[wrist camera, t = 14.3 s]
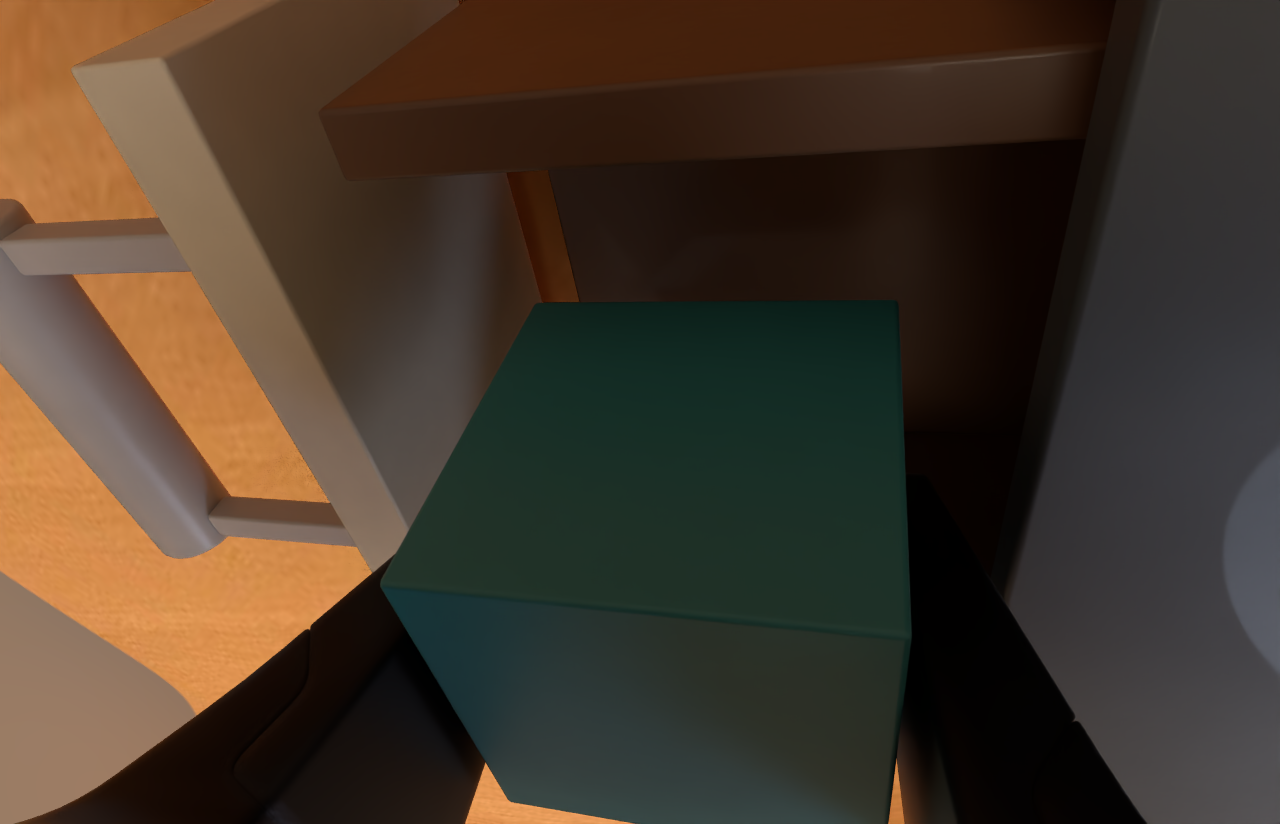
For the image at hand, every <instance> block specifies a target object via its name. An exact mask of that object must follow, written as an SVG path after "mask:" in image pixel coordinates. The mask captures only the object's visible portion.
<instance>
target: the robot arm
mask: <svg viewBox="0 0 1280 824" xmlns="http://www.w3.org/2000/svg"><path fill="white" fill-rule="evenodd" d="M906 498H907V523H908V549H909V574H910V599H911V624H912V639H911V647H910V655H909V663H908V670H907V678H906V686H905V694H904V702H903V710H902V718H901V726H900V734H899V742H898V750H897V765H898V773H899V781H900V789H901V798H902V806H903V814H904V822H905V824H1148V823H1147V822H1146V821H1145V819H1144V818H1143V817H1142V815H1141V814H1140V812H1139V811H1138V810H1137V808H1136V807H1135V806H1134V804H1133V803H1132V801H1131V800H1130V798H1129V797H1128V795H1127V794H1126V792H1125V791H1124V789H1123V788H1122V786H1121V785H1120V783H1119V782H1118V780H1117V779H1116V777H1115V776H1114V774H1113V773H1112V771H1111V770H1110V768H1109V767H1108V765H1107V764H1106V762H1105V761H1104V759H1103V758H1102V756H1101V754H1100V753H1099V751H1098V750H1097V748H1096V746H1095V745H1094V743H1093V742H1092V740H1091V738H1090V737H1089V735H1088V734H1087V732H1086V730H1085V729H1084V727H1083V726H1082V724H1081V723H1080V722H1079V721H1074V720H1075V713H1074V712H1073V710H1072V709H1071V707H1070V705H1069V704H1068V702H1067V701H1066V699H1065V697H1064V696H1063V694H1062V693H1061V691H1060V689H1059V688H1058V686H1057V685H1056V683H1055V681H1054V680H1053V678H1052V677H1051V675H1050V673H1049V672H1048V670H1047V668H1046V667H1045V665H1044V664H1043V662H1042V660H1041V659H1040V657H1039V656H1038V654H1037V652H1036V651H1035V649H1034V648H1033V646H1032V644H1031V643H1030V641H1029V640H1028V638H1027V636H1026V635H1025V633H1024V632H1023V630H1022V628H1021V627H1020V625H1019V624H1018V622H1017V620H1016V619H1015V617H1014V616H1013V614H1012V612H1011V611H1010V609H1009V608H1008V606H1007V604H1006V603H1005V601H1004V600H1003V598H1002V596H1001V595H1000V593H999V592H998V590H997V588H996V587H995V585H994V583H993V582H992V580H991V579H990V577H989V575H988V574H987V572H986V571H985V569H984V567H983V566H982V564H981V563H980V561H979V559H978V558H977V556H976V555H975V553H974V551H973V550H972V548H971V547H970V545H969V543H968V542H967V540H966V539H965V537H964V535H963V534H962V532H961V531H960V529H959V527H958V526H957V524H956V523H955V521H954V519H953V518H952V516H951V515H950V513H949V511H948V510H947V508H946V507H945V505H944V503H943V502H942V500H941V499H940V497H939V495H938V494H937V492H936V490H935V489H934V487H933V486H932V484H931V482H930V481H929V479H928V478H927V477H926V476H925V475H923V474H920V473H906ZM395 554H396V553H395ZM395 554H394V555H393V556H392V557H391V558H390V559H388V560H387V561H386V562H385V563H384V564H382V565H381V566H380V567H379V568H378V569H377V570H375V571H374V572H373V573H372V574H371V575H369V576H368V577H367V578H366V579H365V580H364V581H362V582H361V583H360V584H359V585H358V586H357V587H355V588H354V589H353V590H352V591H351V592H349V593H348V594H347V595H346V596H345V597H344V598H342V599H341V600H340V601H339V602H338V603H336V604H335V605H334V606H333V607H332V608H331V609H329V610H328V611H327V612H326V613H325V614H323V615H322V616H321V617H320V618H319V619H318V620H316V621H315V622H314V623H313V624H312V625H311V628H310V630H309V629H306V630H304V631H303V632H302V633H301V634H300V635H298V636H297V637H296V638H295V639H294V640H292V641H291V642H290V643H289V644H288V645H287V646H285V647H284V648H283V649H282V650H281V651H279V652H278V653H277V654H276V655H274V656H273V657H272V658H271V659H270V660H268V661H267V662H266V663H265V664H263V665H262V666H261V667H260V668H258V669H257V670H256V671H255V672H254V673H252V674H251V675H250V676H249V677H247V678H246V679H245V680H244V681H242V682H241V683H240V684H238V685H237V686H236V687H234V688H233V689H232V690H230V691H229V692H228V693H226V694H225V695H224V696H222V697H221V698H220V699H218V700H217V701H216V702H214V703H213V704H212V705H210V706H209V707H208V708H206V709H205V710H204V711H202V712H201V713H200V714H198V715H197V716H196V717H194V718H193V719H191V720H190V721H189V722H187V723H186V724H184V725H183V726H182V727H181V728H179V729H178V730H176V731H175V732H173V733H172V734H171V735H170V736H168V737H167V738H165V739H164V740H163V741H161V742H160V743H158V744H157V745H156V746H154V747H153V748H152V749H150V750H149V751H147V752H146V753H145V754H143V755H142V756H141V757H139V758H138V759H136V760H135V761H134V762H132V763H131V764H130V765H128V766H127V767H125V768H124V769H123V770H121V771H120V772H119V773H117V774H116V775H115V776H113V777H112V778H110V779H109V780H107V781H106V782H104V783H103V784H102V785H100V786H98V787H97V788H95V789H94V790H92V791H90V792H89V793H87V794H85V795H84V796H82V797H80V798H78V799H76V800H75V801H72V802H70V803H68V804H66V805H64V806H62V807H61V808H58V809H55V810H53V811H51V812H48V813H46V814H43V815H40V816H37V817H34V818H32V819H28V820H25V821H22V822H19V823H15V824H465V822H466V819H467V816H468V813H469V810H470V807H471V804H472V801H473V798H474V795H475V792H476V789H477V786H478V783H479V780H480V777H481V774H482V771H483V768H484V765H485V760H484V759H483V757H482V755H481V754H480V752H479V750H478V749H477V747H476V745H475V744H474V742H473V740H472V739H471V737H470V735H469V734H468V732H467V730H466V729H465V727H464V725H463V724H462V722H461V720H460V719H459V717H458V715H457V714H456V712H455V710H454V709H453V707H452V705H451V704H450V702H449V700H448V699H447V697H446V695H445V694H444V692H443V690H442V689H441V687H440V685H439V684H438V682H437V680H436V679H435V677H434V675H433V674H432V672H431V670H430V669H429V667H428V665H427V664H426V662H425V660H424V659H423V657H422V655H421V654H420V652H419V650H418V649H417V647H416V646H415V644H414V642H413V641H412V639H411V637H410V636H409V634H408V632H407V631H406V629H405V627H404V626H403V624H402V622H401V621H400V619H399V617H398V616H397V614H396V612H395V611H394V609H393V607H392V606H391V604H390V602H389V601H388V599H387V597H386V596H385V594H384V592H383V591H382V589H381V587H380V583H381V579H382V577H383V575H384V574H385V572H386V570H387V568H388V566H389V565H390V563H391V561H392V559H393V557H394V556H395Z"/></svg>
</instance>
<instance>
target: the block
mask: <svg viewBox="0 0 1280 824" xmlns="http://www.w3.org/2000/svg"><path fill="white" fill-rule="evenodd" d="M380 587H381V589H382V591H383V592H384V594H385V596H386V597H387V599H388V601H389V602H390V604H391V606H392V607H393V609H394V611H395V612H396V614H397V616H398V617H399V619H400V621H401V622H402V624H403V626H404V627H405V629H406V631H407V632H408V634H409V636H410V637H411V639H412V641H413V642H414V644H415V646H416V647H417V649H418V650H419V652H420V654H421V655H422V657H423V659H424V660H425V662H426V664H427V665H428V667H429V669H430V670H431V672H432V674H433V675H434V677H435V679H436V680H437V682H438V684H439V685H440V687H441V689H442V690H443V692H444V694H445V695H446V697H447V699H448V700H449V702H450V704H451V705H452V707H453V709H454V710H455V712H456V714H457V715H458V717H459V719H460V720H461V722H462V724H463V725H464V727H465V729H466V730H467V732H468V734H469V735H470V737H471V739H472V740H473V742H474V744H475V745H476V747H477V749H478V750H479V752H480V754H481V755H482V757H483V759H484V760H485V762H486V764H487V765H488V767H489V769H490V770H491V772H492V774H493V775H494V777H495V779H496V780H497V782H498V784H499V785H500V787H501V789H502V790H503V792H504V794H505V795H506V797H507V799H508V800H509V801H511V802H514V803H520V804H526V805H532V806H537V807H543V808H549V809H555V810H560V811H566V812H572V813H578V814H584V815H589V816H595V817H601V818H607V819H612V820H618V821H624V822H630V823H635V824H888V822H889V814H890V806H891V798H892V790H893V782H894V774H895V766H896V758H897V750H898V742H899V734H900V726H901V718H902V710H903V702H904V694H905V686H906V678H907V670H908V663H909V655H910V647H911V639H912V624H911V599H910V574H909V549H908V523H907V498H906V473H905V448H904V422H903V397H902V372H901V346H900V321H899V304H898V302H897V301H896V300H798V301H671V302H545V303H536V304H535V305H534V306H533V308H532V310H531V312H530V313H529V315H528V317H527V319H526V321H525V322H524V324H523V326H522V328H521V330H520V331H519V333H518V335H517V337H516V339H515V340H514V342H513V344H512V346H511V348H510V349H509V351H508V353H507V355H506V357H505V358H504V360H503V362H502V364H501V366H500V367H499V369H498V371H497V373H496V374H495V376H494V378H493V380H492V382H491V383H490V385H489V387H488V389H487V391H486V392H485V394H484V396H483V398H482V400H481V401H480V403H479V405H478V407H477V409H476V410H475V412H474V414H473V416H472V418H471V419H470V421H469V423H468V425H467V427H466V428H465V430H464V432H463V434H462V435H461V437H460V439H459V441H458V443H457V444H456V446H455V448H454V450H453V452H452V453H451V455H450V457H449V459H448V461H447V462H446V464H445V466H444V468H443V470H442V471H441V473H440V475H439V477H438V479H437V480H436V482H435V484H434V486H433V488H432V489H431V491H430V493H429V495H428V496H427V498H426V500H425V502H424V504H423V505H422V507H421V509H420V511H419V513H418V514H417V516H416V518H415V520H414V522H413V523H412V525H411V527H410V529H409V531H408V532H407V534H406V536H405V538H404V540H403V541H402V543H401V545H400V547H399V548H398V550H397V552H396V554H395V556H394V557H393V559H392V561H391V563H390V565H389V566H388V568H387V570H386V572H385V574H384V575H383V577H382V579H381V583H380Z"/></svg>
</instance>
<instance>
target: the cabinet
mask: <svg viewBox="0 0 1280 824" xmlns="http://www.w3.org/2000/svg"><path fill="white" fill-rule="evenodd" d="M990 579H991V580H992V582H993V583H994V585H995V587H996V588H997V590H998V592H999V593H1000V595H1001V596H1002V598H1003V600H1004V601H1005V603H1006V604H1007V606H1008V608H1009V609H1010V611H1011V612H1012V614H1013V616H1014V617H1015V619H1016V620H1017V622H1018V624H1019V625H1020V627H1021V628H1022V630H1023V632H1024V633H1025V635H1026V636H1027V638H1028V640H1029V641H1030V643H1031V644H1032V646H1033V648H1034V649H1035V651H1036V652H1037V654H1038V656H1039V657H1040V659H1041V660H1042V662H1043V664H1044V665H1045V667H1046V668H1047V670H1048V672H1049V673H1050V675H1051V677H1052V678H1053V680H1054V681H1055V683H1056V685H1057V686H1058V688H1059V689H1060V691H1061V693H1062V694H1063V696H1064V697H1065V699H1066V701H1067V702H1068V704H1069V705H1070V707H1071V709H1072V710H1073V712H1074V713H1075V720H1074V721H1079V722H1080V723H1081V724H1082V726H1083V727H1084V729H1085V730H1086V732H1087V734H1088V735H1089V737H1090V738H1091V740H1092V742H1093V743H1094V745H1095V746H1096V748H1097V750H1098V751H1099V753H1100V754H1101V756H1102V758H1103V759H1104V761H1105V762H1106V764H1107V765H1108V767H1109V768H1110V770H1111V771H1112V773H1113V774H1114V776H1115V777H1116V779H1117V780H1118V782H1119V783H1120V785H1121V786H1122V788H1123V789H1124V791H1125V792H1126V794H1127V795H1128V797H1129V798H1130V800H1131V801H1132V803H1133V804H1134V806H1135V807H1136V808H1137V810H1138V811H1139V812H1140V814H1141V815H1142V817H1143V818H1144V819H1145V821H1146V822H1147V823H1148V824H1280V0H1116V4H1115V9H1114V13H1113V18H1112V23H1111V27H1110V32H1109V36H1108V41H1107V45H1106V50H1105V55H1104V59H1103V64H1102V68H1101V73H1100V78H1099V82H1098V87H1097V91H1096V96H1095V101H1094V105H1093V110H1092V114H1091V119H1090V123H1089V128H1088V133H1087V137H1086V142H1085V146H1084V151H1083V156H1082V160H1081V165H1080V169H1079V174H1078V179H1077V183H1076V188H1075V192H1074V197H1073V202H1072V206H1071V211H1070V215H1069V220H1068V224H1067V229H1066V234H1065V238H1064V243H1063V247H1062V252H1061V257H1060V261H1059V266H1058V270H1057V275H1056V280H1055V284H1054V289H1053V293H1052V298H1051V303H1050V307H1049V312H1048V316H1047V321H1046V325H1045V330H1044V335H1043V339H1042V344H1041V348H1040V353H1039V358H1038V362H1037V367H1036V371H1035V376H1034V381H1033V385H1032V390H1031V394H1030V399H1029V403H1028V408H1027V413H1026V417H1025V422H1024V426H1023V431H1022V436H1021V440H1020V445H1019V449H1018V454H1017V459H1016V463H1015V468H1014V472H1013V477H1012V482H1011V486H1010V491H1009V495H1008V500H1007V504H1006V509H1005V514H1004V518H1003V523H1002V527H1001V532H1000V537H999V541H998V546H997V550H996V555H995V560H994V564H993V569H992V573H991V578H990Z"/></svg>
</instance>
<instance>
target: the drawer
mask: <svg viewBox="0 0 1280 824" xmlns="http://www.w3.org/2000/svg"><path fill="white" fill-rule="evenodd" d="M1115 4H1116V0H466V1H464V2H463V3H462V4H459V1H458V0H215V1H213V2H211V3H208V4H206V5H204V6H202V7H200V8H198V9H196V10H193V11H191V12H189V13H187V14H185V15H183V16H180V17H178V18H176V19H174V20H172V21H170V22H168V23H165V24H163V25H161V26H159V27H157V28H155V29H152V30H150V31H148V32H146V33H144V34H142V35H139V36H137V37H135V38H133V39H131V40H129V41H127V42H124V43H122V44H120V45H118V46H116V47H114V48H111V49H109V50H107V51H105V52H103V53H101V54H99V55H96V56H94V57H92V58H90V59H88V60H86V61H83V62H81V63H79V64H77V65H75V66H74V67H73V68H72V69H71V72H72V74H73V76H74V77H75V79H76V81H77V82H78V84H79V86H80V87H81V89H82V91H83V92H84V94H85V96H86V97H87V99H88V101H89V102H90V104H91V106H92V107H93V109H94V111H95V112H96V114H97V116H98V117H99V119H100V121H101V122H102V124H103V126H104V127H105V129H106V131H107V132H108V134H109V136H110V137H111V139H112V141H113V142H114V144H115V146H116V147H117V149H118V151H119V152H120V154H121V156H122V157H123V159H124V161H125V162H126V164H127V166H128V167H129V169H130V170H131V172H132V174H133V175H134V177H135V179H136V180H137V182H138V184H139V185H140V187H141V189H142V190H143V192H144V194H145V195H146V197H147V199H148V200H149V202H150V204H151V205H152V207H153V209H154V210H155V212H156V214H157V215H158V217H159V218H142V219H121V220H100V221H79V222H58V223H35V222H34V220H33V219H32V217H31V216H30V215H29V213H28V212H27V210H26V209H25V208H24V206H23V205H22V204H21V203H19V202H18V201H16V200H13V199H0V363H1V364H2V365H3V367H4V368H5V369H6V370H7V371H8V372H9V374H10V375H11V376H12V377H13V378H14V379H15V381H16V382H17V383H18V384H19V385H20V387H21V388H22V389H23V390H24V391H25V392H26V394H27V395H28V396H29V397H30V398H31V399H32V401H33V402H34V403H35V404H36V405H37V406H38V408H39V409H40V410H41V411H42V412H43V413H44V415H45V416H46V417H47V418H48V419H49V420H50V422H51V423H52V424H53V425H54V426H55V427H56V429H57V430H58V431H59V432H60V433H61V434H62V436H63V437H64V438H65V439H66V440H67V441H68V443H69V444H70V445H71V446H72V447H73V448H74V450H75V451H76V452H77V453H78V454H79V455H80V457H81V458H82V459H83V460H84V461H85V462H86V464H87V465H88V466H89V467H90V468H91V469H92V471H93V472H94V473H95V474H96V475H97V476H98V478H99V479H100V480H101V481H102V482H103V483H104V485H105V486H106V487H107V488H108V489H109V490H110V492H111V493H112V494H113V495H114V496H115V497H116V499H117V500H118V501H119V502H120V503H121V505H122V506H123V507H124V508H125V509H126V510H127V512H128V513H129V514H130V515H131V516H132V517H133V519H134V520H135V521H136V522H137V523H138V524H139V526H140V527H141V528H142V529H143V530H144V531H145V533H146V534H147V535H148V536H149V537H150V538H151V540H152V541H153V542H154V543H155V544H156V545H157V547H158V548H159V549H160V550H161V551H162V552H163V553H164V554H165V555H167V556H169V557H172V558H178V559H183V558H190V557H194V556H197V555H200V554H202V553H205V552H207V551H209V550H210V549H212V548H214V547H215V546H217V545H218V544H220V543H221V542H222V541H223V540H224V539H226V538H227V537H228V536H232V537H244V538H256V539H269V540H281V541H293V542H305V543H317V544H329V545H341V546H353V547H357V548H358V550H359V551H360V553H361V555H362V556H363V558H364V560H365V561H366V563H367V565H368V566H369V568H370V570H371V571H372V573H373V572H374V571H375V570H377V569H378V568H379V567H380V566H381V565H382V564H384V563H385V562H386V561H387V560H388V559H390V558H391V557H392V556H393V555H394V554H395V553H396V552H397V550H398V548H399V547H400V545H401V543H402V541H403V540H404V538H405V536H406V534H407V532H408V531H409V529H410V527H411V525H412V523H413V522H414V520H415V518H416V516H417V514H418V513H419V511H420V509H421V507H422V505H423V504H424V502H425V500H426V498H427V496H428V495H429V493H430V491H431V489H432V488H433V486H434V484H435V482H436V480H437V479H438V477H439V475H440V473H441V471H442V470H443V468H444V466H445V464H446V462H447V461H448V459H449V457H450V455H451V453H452V452H453V450H454V448H455V446H456V444H457V443H458V441H459V439H460V437H461V435H462V434H463V432H464V430H465V428H466V427H467V425H468V423H469V421H470V419H471V418H472V416H473V414H474V412H475V410H476V409H477V407H478V405H479V403H480V401H481V400H482V398H483V396H484V394H485V392H486V391H487V389H488V387H489V385H490V383H491V382H492V380H493V378H494V376H495V374H496V373H497V371H498V369H499V367H500V366H501V364H502V362H503V360H504V358H505V357H506V355H507V353H508V351H509V349H510V348H511V346H512V344H513V342H514V340H515V339H516V337H517V335H518V333H519V331H520V330H521V328H522V326H523V324H524V322H525V321H526V319H527V317H528V315H529V313H530V312H531V310H532V308H533V306H534V305H535V304H536V303H542V300H541V296H540V293H539V289H538V286H537V282H536V278H535V275H534V271H533V267H532V264H531V260H530V257H529V253H528V249H527V246H526V242H525V239H524V235H523V231H522V228H521V224H520V221H519V217H518V213H517V210H516V206H515V203H514V199H513V195H512V192H511V188H510V185H509V181H508V177H507V174H506V172H520V171H537V170H548V173H549V177H550V181H551V185H552V189H553V193H554V198H555V202H556V206H557V210H558V214H559V218H560V222H561V227H562V231H563V235H564V239H565V243H566V247H567V251H568V256H569V260H570V264H571V268H572V272H573V276H574V281H575V285H576V289H577V293H578V297H579V301H580V302H671V301H798V300H896V301H897V302H898V304H899V321H900V346H901V372H902V397H903V422H904V448H905V473H920V474H923V475H925V476H926V477H927V478H928V479H929V481H930V482H931V484H932V486H933V487H934V489H935V490H936V492H937V494H938V495H939V497H940V499H941V500H942V502H943V503H944V505H945V507H946V508H947V510H948V511H949V513H950V515H951V516H952V518H953V519H954V521H955V523H956V524H957V526H958V527H959V529H960V531H961V532H962V534H963V535H964V537H965V539H966V540H967V542H968V543H969V545H970V547H971V548H972V550H973V551H974V553H975V555H976V556H977V558H978V559H979V561H980V563H981V564H982V566H983V567H984V569H985V571H986V572H987V574H988V575H989V577H990V578H991V573H992V569H993V564H994V560H995V555H996V550H997V546H998V541H999V537H1000V532H1001V527H1002V523H1003V518H1004V514H1005V509H1006V504H1007V500H1008V495H1009V491H1010V486H1011V482H1012V477H1013V472H1014V468H1015V463H1016V459H1017V454H1018V449H1019V445H1020V440H1021V436H1022V431H1023V426H1024V422H1025V417H1026V413H1027V408H1028V403H1029V399H1030V394H1031V390H1032V385H1033V381H1034V376H1035V371H1036V367H1037V362H1038V358H1039V353H1040V348H1041V344H1042V339H1043V335H1044V330H1045V325H1046V321H1047V316H1048V312H1049V307H1050V303H1051V298H1052V293H1053V289H1054V284H1055V280H1056V275H1057V270H1058V266H1059V261H1060V257H1061V252H1062V247H1063V243H1064V238H1065V234H1066V229H1067V224H1068V220H1069V215H1070V211H1071V206H1072V202H1073V197H1074V192H1075V188H1076V183H1077V179H1078V174H1079V169H1080V165H1081V160H1082V156H1083V151H1084V146H1085V142H1086V137H1087V133H1088V128H1089V123H1090V119H1091V114H1092V110H1093V105H1094V101H1095V96H1096V91H1097V87H1098V82H1099V78H1100V73H1101V68H1102V64H1103V59H1104V55H1105V50H1106V45H1107V41H1108V36H1109V32H1110V27H1111V23H1112V18H1113V13H1114V9H1115ZM187 271H191V272H192V274H193V275H194V277H195V279H196V280H197V282H198V284H199V285H200V287H201V289H202V290H203V292H204V294H205V295H206V297H207V299H208V300H209V302H210V304H211V305H212V307H213V309H214V310H215V312H216V314H217V315H218V317H219V319H220V320H221V322H222V323H223V325H224V327H225V328H226V330H227V332H228V333H229V335H230V337H231V338H232V340H233V342H234V343H235V345H236V347H237V348H238V350H239V352H240V353H241V355H242V357H243V358H244V360H245V362H246V363H247V365H248V367H249V368H250V370H251V372H252V373H253V375H254V377H255V378H256V380H257V382H258V383H259V385H260V387H261V388H262V390H263V392H264V393H265V395H266V397H267V398H268V400H269V402H270V403H271V405H272V407H273V408H274V410H275V412H276V413H277V415H278V417H279V418H280V420H281V422H282V423H283V425H284V427H285V428H286V430H287V432H288V433H289V435H290V437H291V438H292V440H293V442H294V443H295V445H296V447H297V448H298V450H299V452H300V453H301V455H302V457H303V458H304V460H305V462H306V463H307V465H308V467H309V468H310V470H311V472H312V473H313V475H314V476H315V478H316V480H317V481H318V483H319V485H320V486H321V488H322V490H323V491H324V493H325V495H326V496H327V498H328V500H329V501H330V503H322V502H307V501H292V500H277V499H262V498H247V497H232V496H231V495H230V494H229V493H228V491H227V490H226V488H225V487H224V486H223V484H222V483H221V481H220V480H219V479H218V477H217V476H216V474H215V473H214V472H213V470H212V469H211V467H210V466H209V465H208V463H207V462H206V460H205V459H204V458H203V456H202V455H201V454H200V452H199V451H198V449H197V448H196V447H195V445H194V444H193V442H192V441H191V440H190V438H189V437H188V435H187V434H186V433H185V431H184V430H183V428H182V427H181V426H180V424H179V423H178V421H177V420H176V419H175V417H174V416H173V414H172V413H171V412H170V410H169V409H168V407H167V406H166V405H165V403H164V402H163V400H162V399H161V398H160V396H159V395H158V393H157V392H156V391H155V389H154V388H153V386H152V385H151V384H150V382H149V381H148V379H147V378H146V377H145V375H144V374H143V372H142V371H141V370H140V368H139V367H138V365H137V364H136V363H135V361H134V360H133V359H132V357H131V356H130V354H129V353H128V352H127V350H126V349H125V347H124V346H123V345H122V343H121V342H120V340H119V339H118V338H117V336H116V335H115V333H114V332H113V331H112V329H111V328H110V326H109V325H108V324H107V322H106V321H105V319H104V318H103V317H102V315H101V314H100V312H99V311H98V310H97V308H96V307H95V305H94V304H93V303H92V301H91V300H90V298H89V297H88V296H87V294H86V293H85V291H84V290H83V289H82V287H81V286H80V284H79V283H78V282H77V280H76V279H75V277H74V276H73V275H72V274H105V273H146V272H187Z"/></svg>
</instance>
